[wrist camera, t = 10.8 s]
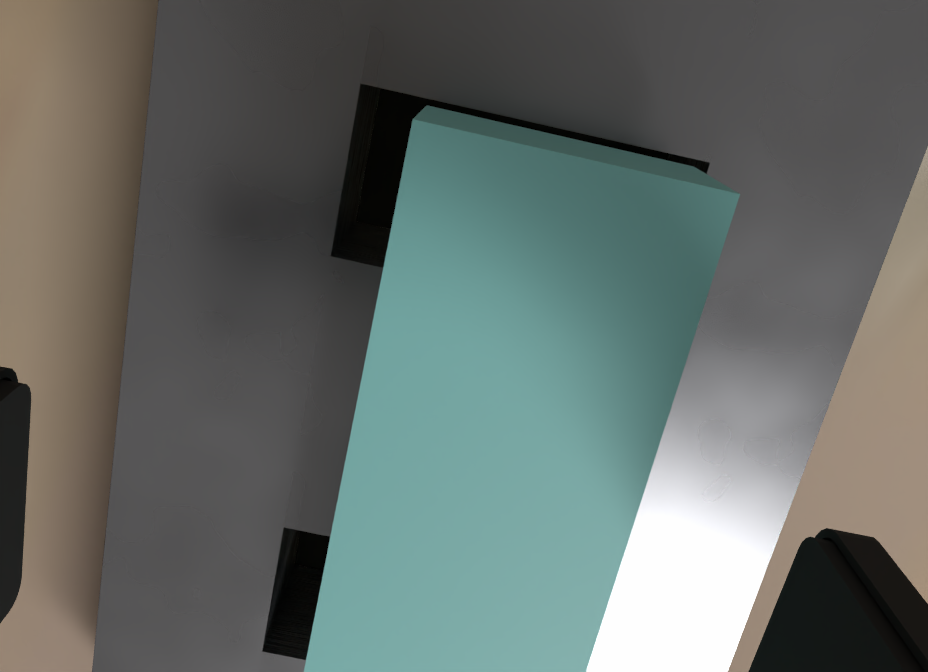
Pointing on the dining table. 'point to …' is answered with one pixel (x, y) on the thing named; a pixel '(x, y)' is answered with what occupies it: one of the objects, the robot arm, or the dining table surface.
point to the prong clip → (511, 397)
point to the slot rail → (362, 260)
